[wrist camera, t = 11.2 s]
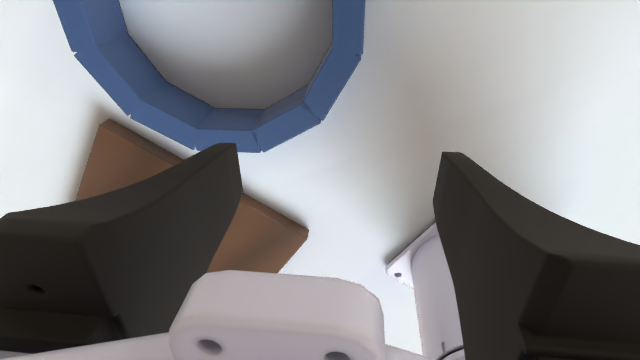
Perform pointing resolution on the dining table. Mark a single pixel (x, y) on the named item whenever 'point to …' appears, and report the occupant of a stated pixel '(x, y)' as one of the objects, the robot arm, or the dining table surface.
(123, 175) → the platform
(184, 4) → the dining table surface
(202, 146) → the blue ring
